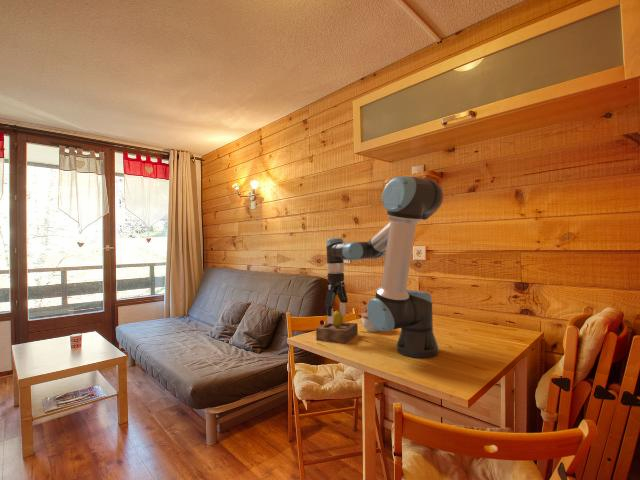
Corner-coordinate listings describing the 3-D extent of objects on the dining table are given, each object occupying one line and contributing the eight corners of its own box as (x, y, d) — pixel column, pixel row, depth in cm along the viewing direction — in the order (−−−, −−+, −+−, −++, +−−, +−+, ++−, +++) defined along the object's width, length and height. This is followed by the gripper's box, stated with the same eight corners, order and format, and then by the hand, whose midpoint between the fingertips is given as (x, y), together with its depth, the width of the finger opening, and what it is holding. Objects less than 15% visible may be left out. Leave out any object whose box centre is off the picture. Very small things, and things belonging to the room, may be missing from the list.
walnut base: (357, 334, 149) (357, 323, 149) (346, 343, 137) (345, 331, 137) (330, 331, 155) (329, 320, 155) (316, 339, 143) (316, 328, 143)
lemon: (328, 328, 146) (328, 310, 146) (337, 326, 150) (337, 308, 150) (336, 330, 142) (336, 312, 142) (346, 328, 146) (345, 310, 146)
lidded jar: (384, 333, 150) (384, 313, 150) (361, 333, 152) (360, 313, 152) (384, 327, 161) (383, 308, 161) (362, 327, 162) (361, 308, 162)
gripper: (339, 270, 159) (340, 313, 159) (315, 275, 137) (316, 325, 137) (353, 270, 156) (354, 314, 156) (331, 275, 134) (332, 327, 133)
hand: (337, 320), depth 146 cm, fingers open, 13 cm apart
